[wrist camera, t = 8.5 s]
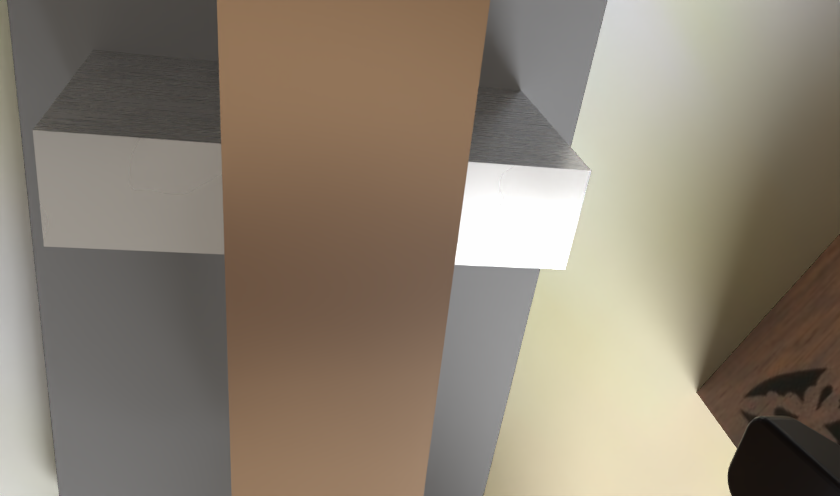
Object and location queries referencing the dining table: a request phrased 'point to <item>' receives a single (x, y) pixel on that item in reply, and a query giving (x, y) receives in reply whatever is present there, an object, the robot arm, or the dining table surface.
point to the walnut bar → (341, 233)
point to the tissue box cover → (787, 359)
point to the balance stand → (204, 233)
